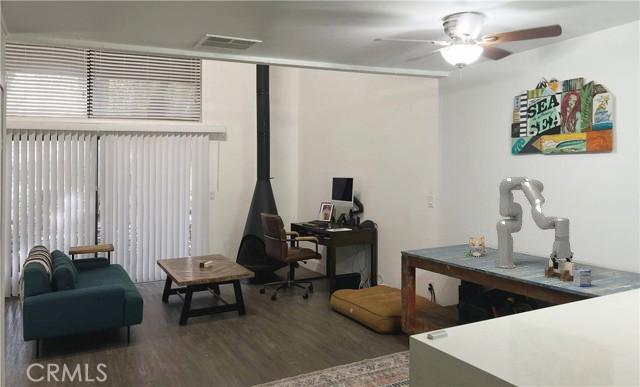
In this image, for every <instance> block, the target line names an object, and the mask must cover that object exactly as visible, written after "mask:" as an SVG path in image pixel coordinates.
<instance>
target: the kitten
mask: <svg viewBox="0 0 640 387" xmlns="http://www.w3.org/2000/svg"><path fill="white" fill-rule="evenodd" d="M485 242H486V241H485V237H484V236H482V237H479V238H476V237H475V238H474V237H473V236H471V235H469V251H468V249H466V251H465V254H466V256H467V255H471V254H472V256H473V257H475V256H476V257H477V256H478V257H477V258H479V257H481V256H482V255H484V254H486V253H487V249H485ZM467 251H468V252H469V253H468V252H467Z"/></svg>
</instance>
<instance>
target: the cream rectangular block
mask: <svg viewBox="0 0 640 387" xmlns="http://www.w3.org/2000/svg"><path fill="white" fill-rule="evenodd" d="M548 266H551V267H553V262H552V260H551V258H550V259H548ZM575 267H576V263H575V262H571V263H570V262H565V260H564V261H563V260H561V259H559V260H558V269H554V272H557V273H560V270H569V275H570V276H574V270H575V269H576V268H575Z"/></svg>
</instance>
